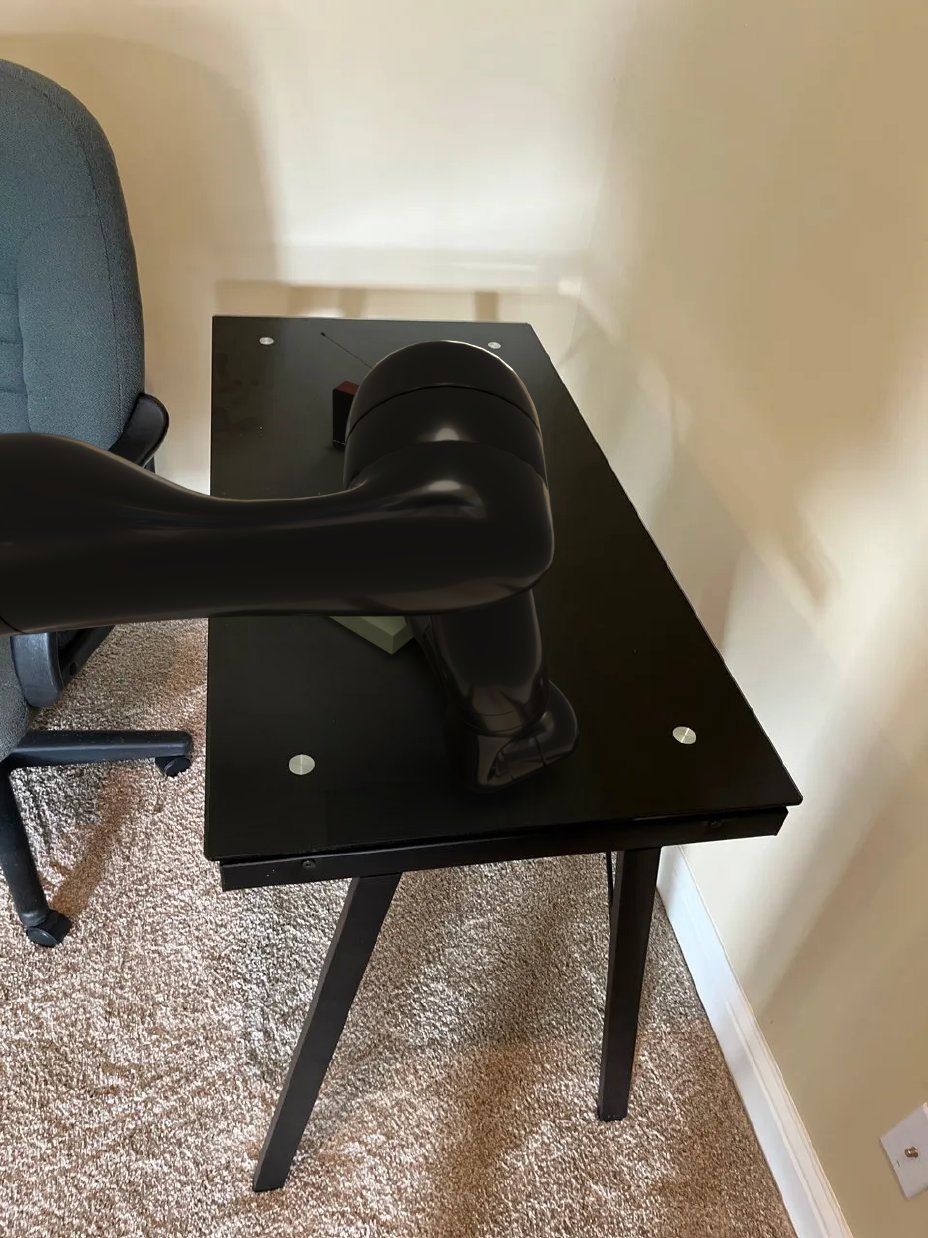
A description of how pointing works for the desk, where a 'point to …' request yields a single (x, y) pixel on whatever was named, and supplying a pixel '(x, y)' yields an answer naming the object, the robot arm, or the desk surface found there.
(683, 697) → the desk surface
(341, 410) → the radio
